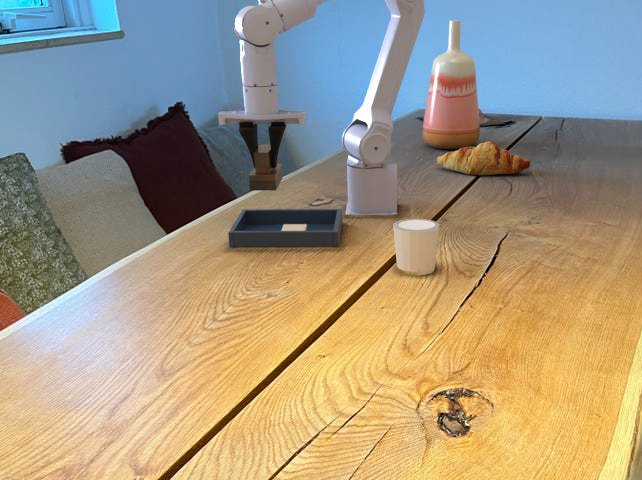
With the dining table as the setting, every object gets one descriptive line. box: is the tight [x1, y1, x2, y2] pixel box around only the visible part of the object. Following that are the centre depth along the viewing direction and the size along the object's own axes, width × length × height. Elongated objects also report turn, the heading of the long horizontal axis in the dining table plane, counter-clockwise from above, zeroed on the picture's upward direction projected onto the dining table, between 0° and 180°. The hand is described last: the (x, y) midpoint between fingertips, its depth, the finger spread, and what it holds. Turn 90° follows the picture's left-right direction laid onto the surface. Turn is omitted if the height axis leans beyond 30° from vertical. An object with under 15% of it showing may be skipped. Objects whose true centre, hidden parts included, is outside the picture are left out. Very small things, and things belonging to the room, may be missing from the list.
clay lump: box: [281, 224, 307, 231], centre depth 134 cm, size 4×4×1 cm
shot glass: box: [392, 218, 440, 277], centre depth 119 cm, size 7×7×7 cm
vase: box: [422, 19, 481, 150], centre depth 196 cm, size 14×14×30 cm
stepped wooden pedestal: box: [248, 143, 284, 192], centre depth 138 cm, size 4×9×6 cm, turn 179°
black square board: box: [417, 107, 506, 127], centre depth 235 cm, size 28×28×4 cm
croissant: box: [436, 140, 531, 176], centre depth 176 cm, size 21×10×8 cm, turn 72°
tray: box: [227, 208, 344, 249], centre depth 134 cm, size 18×14×3 cm
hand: (265, 167), depth 138 cm, fingers closed on stepped wooden pedestal, 2 cm apart
